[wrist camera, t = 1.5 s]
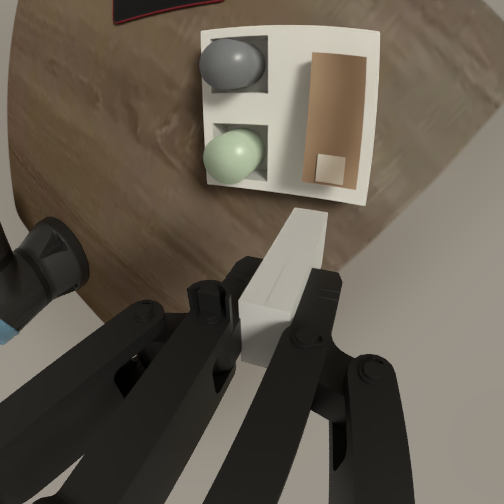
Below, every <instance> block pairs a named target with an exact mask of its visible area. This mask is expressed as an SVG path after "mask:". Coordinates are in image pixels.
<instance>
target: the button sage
mask: <svg viewBox="0 0 504 504" xmlns="http://www.w3.org/2000/svg"><path fill="white" fill-rule="evenodd" d="M264 157H265V145H264V142H263V140H262V139H261V137H260V136H259V135H258V134H257V133H256V132H255V131H253V130H251V129H248V128H236V129H234V130H231V131H229V132H227V133H225V134H222V135H220V136H218V137H216V138H214V139H212V140H211V141H210V142H209V143H208V144H207V146H206V147H205V150H204V154H203V161H204V165H205V168H206V170H207V172H208V173H209V174H210V176H211V177H212V178H213V179H215V180H216V181H218V182H220V183H223V184H236V183H239V182H240V181H242V180H243V179H244V178H245V177H247V176H248V175H249V174H250V173H251V172H252V171H254V170H255V169H256V168H257V167H258V166H259V165H260V164H261V163H262V162H263V160H264Z"/></svg>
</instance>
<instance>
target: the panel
mask: <svg viewBox="0 0 504 504" xmlns="http://www.w3.org/2000/svg"><path fill="white" fill-rule="evenodd" d="M219 39H231V40H236V41H241V42H245V43H249V44H252V45H254V46H256V47H257V48H259V50H260V51H261V52H262V53H263V55H264V58H265V64H266V65H265V71H264V74H263V76H262V77H261V79H260V80H259V81H258V82H256V83H255V84H253V85H251V86H248V87H241V88H233V89H225V90H223V89H216V88H214V87H212V86H210V85H209V84H207V83H206V82H205V81H204V79H203V78H202V94H203V118H204V138H205V147H206V146H207V144H208V143H209V142H210V141H211V140H212V139H214V138H216V137H218V136H220V135H222V134H225V133H227V132H229V131H231V130H234V129H236V128H248V129H251V130H253V131H255V132H256V133H257V134H258V135H259V136H260V137H261V139H262V140H263V142H264V145H265V157H264V160H263V162H262V163H261V164H260V165H259V166H258V167H257V168H256V169H255V170H254V171H252V172H251V173H250V174H249V175H248V176H247V177H245V178H244V179H243V180H242V181H240V182H239V183H236V184H223V183H220V182H218V181H216V180H215V179H213V178H212V177H211V176H210V174H209V173H208V172H207V170H206V173H207V184H211V185H220V186H229V187H238V188H247V189H255V190H263V191H271V192H278V193H286V194H293V195H300V196H307V197H313V198H320V199H326V200H333V201H339V202H345V203H351V204H357V205H363V206H365V205H366V198H367V192H368V185H369V177H370V170H371V161H372V153H373V144H374V134H375V123H376V111H377V98H378V81H379V55H380V32H378V31H371V30H363V29H354V28H343V27H330V26H309V25H267V26H246V27H233V28H222V29H213V30H204V31H201V54H202V52H203V51H204V49H205V48H206V47H207V46H208V45H209V44H210V43H212V42H214V41H216V40H219ZM312 52H319V53H333V54H344V55H353V56H362V57H367V64H366V87H365V104H364V118H363V130H362V141H361V151H360V161H359V170H358V178H357V186H356V190H353V189H347V188H341V187H334V186H328V185H321V184H314V183H307V182H302V174H303V164H304V154H305V143H306V131H307V119H308V106H309V93H310V79H311V63H312Z"/></svg>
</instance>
